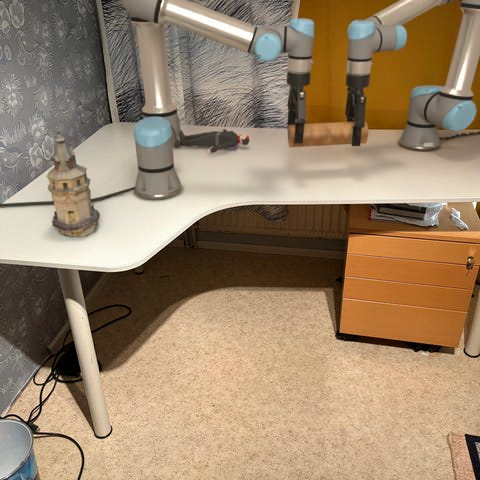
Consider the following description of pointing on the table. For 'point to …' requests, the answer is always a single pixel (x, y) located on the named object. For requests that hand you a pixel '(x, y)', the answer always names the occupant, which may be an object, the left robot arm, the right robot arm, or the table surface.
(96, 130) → the table surface
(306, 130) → the rod
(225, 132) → the toy
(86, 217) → the miniature building
